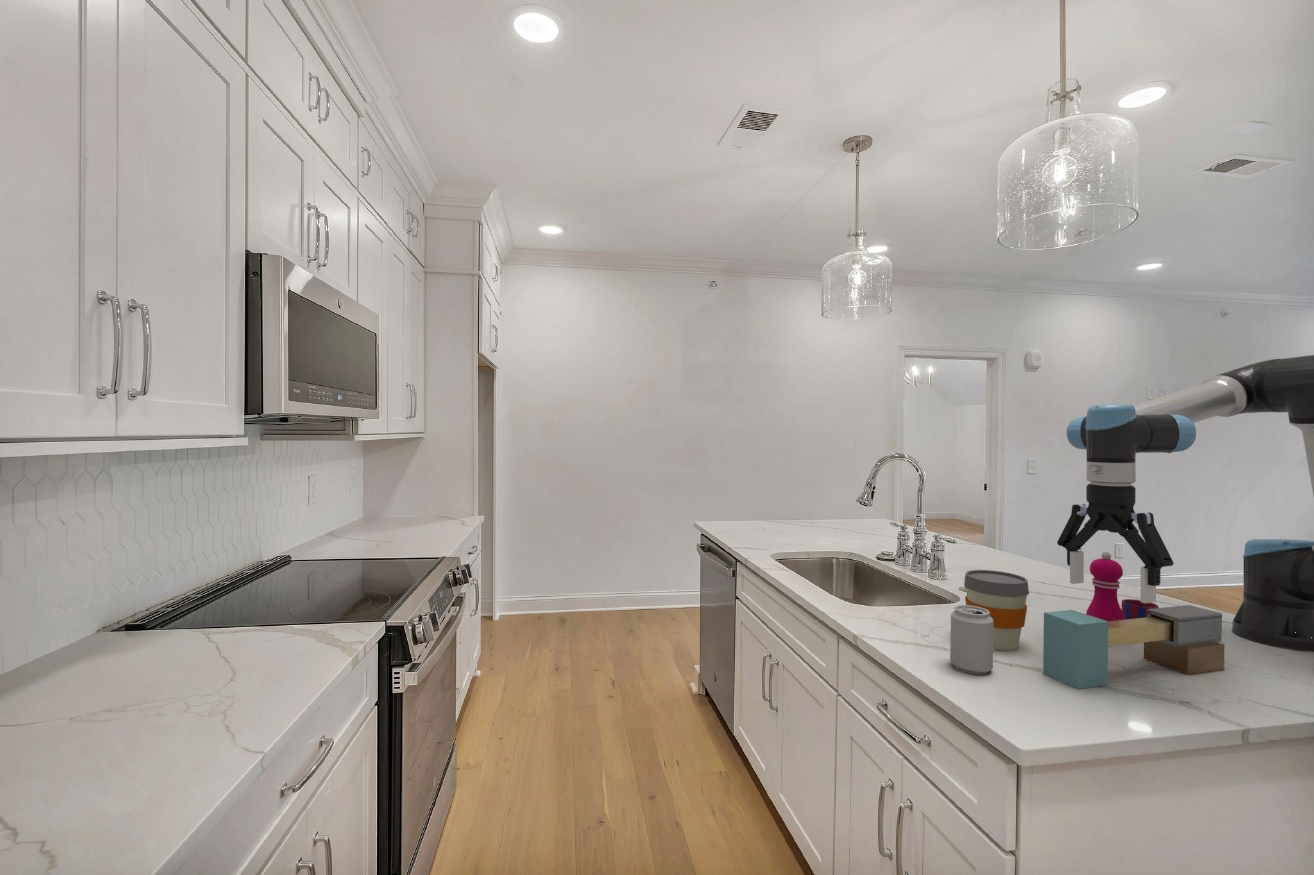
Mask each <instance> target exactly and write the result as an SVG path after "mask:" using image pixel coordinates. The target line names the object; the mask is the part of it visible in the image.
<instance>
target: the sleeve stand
mask: <svg viewBox="0 0 1314 875" xmlns="http://www.w3.org/2000/svg"><path fill="white" fill-rule="evenodd" d="M1156 616H1158V617H1162V618H1165V619H1169V620H1172V621H1174V639H1169V640H1161V641H1152V642H1144V643H1143V660H1145V659H1146V660H1145V661H1148V662H1151V661H1152V663H1154V664H1156V663H1157V664H1156V665H1159V666H1162V667H1164V666H1165V668H1168V669H1171V670H1173V671H1176V672H1179V673H1182V674H1184V675H1188V676H1189V675H1190V676H1191V675H1197V674H1205V673H1211V672H1218V671H1225V644H1224V643H1222V638H1223V637H1222V636H1223V631H1222V630H1223V628H1222V627H1223V625H1222V624H1223V613H1221V612H1219V611H1218V612H1217V611H1213V610H1209V609H1207V608H1202V607H1198V606H1194V605H1189V604H1185V605H1177V606H1176V605H1175V606H1166V607H1159V608H1154V609H1147V615H1146V618H1147V617H1156Z"/></svg>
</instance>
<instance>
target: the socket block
mask: <svg viewBox="0 0 1314 875" xmlns="http://www.w3.org/2000/svg"><path fill="white" fill-rule="evenodd" d="M1108 624H1109V622H1108V621H1105V620H1102V619H1099V618H1096V617H1093V616H1090V615H1086V613H1083V612H1079V611H1076V610H1074V609H1067V610H1066V609H1065V610H1056V611H1055V610H1054V611H1045V612H1043V647H1042V648H1043V652H1042V653H1043V654H1042V655H1043V656H1042V673H1043V674H1044V675H1046V676H1049V677H1051V678H1054V679H1055V680H1057V681H1060V682H1062V683H1063V684H1067V685H1068V686H1070V687H1072V688H1074V689H1078V690H1082V689H1090V688H1096V687H1104V686H1108V684H1109V683H1108V681H1109V680H1108V677H1109V671H1108V670H1109V667H1108V666H1109V647H1108Z"/></svg>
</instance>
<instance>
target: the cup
mask: <svg viewBox="0 0 1314 875" xmlns="http://www.w3.org/2000/svg"><path fill="white" fill-rule="evenodd" d="M1154 608H1160V607H1159V605H1158V604H1156V603H1155V602H1151V603H1142V602H1141V599H1134V598H1133V599H1132V598H1131V599H1129V598H1125V599H1121V610H1122V612H1123V614H1124V617H1125V620H1127V619H1137V618H1146V615H1147V609H1154Z"/></svg>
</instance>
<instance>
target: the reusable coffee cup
mask: <svg viewBox="0 0 1314 875" xmlns="http://www.w3.org/2000/svg"><path fill="white" fill-rule="evenodd" d="M1028 582H1029V580H1028V579H1027V578H1026V577H1024V576H1021V575H1020V574H1019V575H1018V574H1016V573H1011V572H1005V571H999V570H990V569H974V570H973V569H972V570H968V571H965V576H964V583H963V586H964V587H965V591H966V596H965V597H964V600H965V605H970V606H977V607H981V608H984V609H986V610H988V611H989V612H990V614H989V615H990V617H991V618H992V619H993V650H996V649H997V650H996V651H1005V650H1009V651H1015V650H1018V648H1019V646H1020V640H1021V633H1022V629H1023V628H1024V627H1025V624H1026V623H1025V622H1026V616H1027V611H1028V605H1027V603H1026V602H1027V596H1028V595H1029V594H1030V592H1029V583H1028Z"/></svg>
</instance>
